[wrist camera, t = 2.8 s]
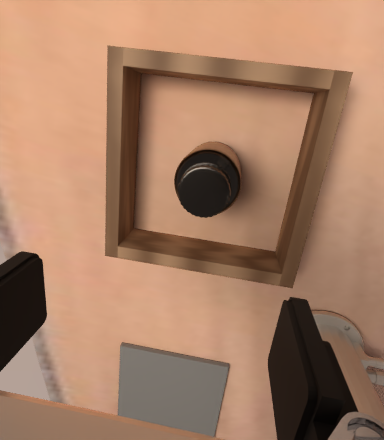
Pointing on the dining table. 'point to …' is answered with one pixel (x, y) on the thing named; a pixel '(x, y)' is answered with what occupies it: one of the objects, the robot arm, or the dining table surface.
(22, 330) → the robot arm
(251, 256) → the crate
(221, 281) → the dining table surface
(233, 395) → the dining table surface
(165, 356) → the mat
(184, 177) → the supplement bottle
